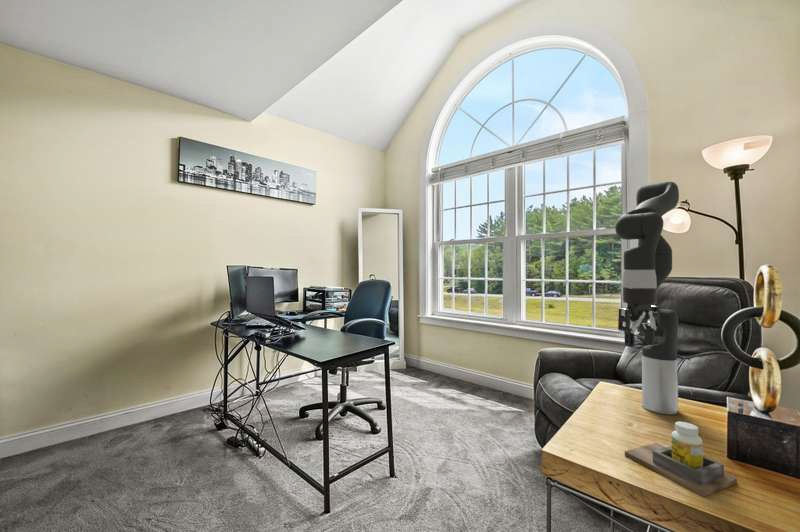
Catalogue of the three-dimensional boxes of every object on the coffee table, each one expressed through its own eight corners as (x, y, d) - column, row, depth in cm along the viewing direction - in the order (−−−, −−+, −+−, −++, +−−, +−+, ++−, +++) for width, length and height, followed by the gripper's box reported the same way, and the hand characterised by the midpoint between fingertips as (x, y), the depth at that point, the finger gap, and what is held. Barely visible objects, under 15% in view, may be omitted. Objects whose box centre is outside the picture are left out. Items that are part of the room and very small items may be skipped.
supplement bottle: (710, 475, 72) (709, 431, 72) (684, 475, 72) (684, 430, 72) (689, 461, 77) (688, 420, 78) (665, 461, 77) (665, 419, 78)
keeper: (656, 446, 86) (656, 432, 86) (736, 483, 71) (736, 466, 71) (624, 455, 82) (624, 441, 82) (704, 496, 67) (704, 479, 67)
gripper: (641, 284, 97) (641, 339, 97) (608, 286, 92) (609, 344, 92) (670, 285, 90) (670, 345, 91) (636, 287, 85) (637, 351, 85)
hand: (639, 344), depth 91 cm, fingers open, 8 cm apart
